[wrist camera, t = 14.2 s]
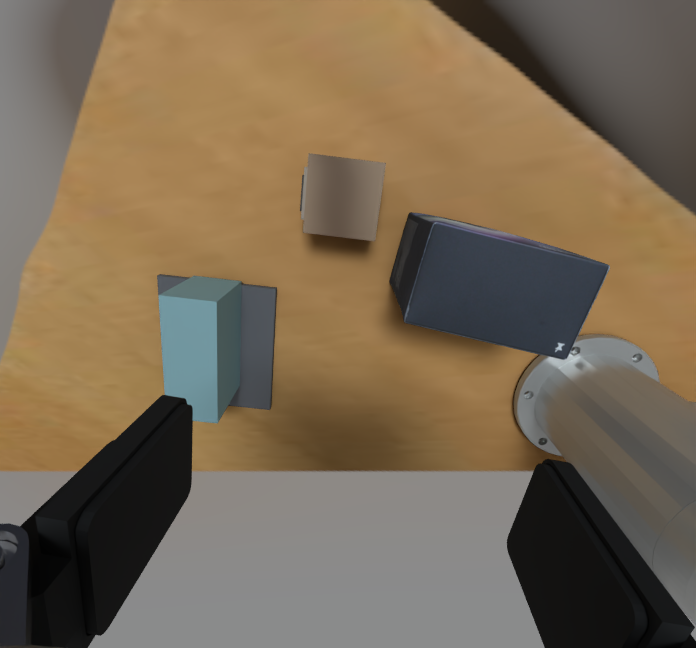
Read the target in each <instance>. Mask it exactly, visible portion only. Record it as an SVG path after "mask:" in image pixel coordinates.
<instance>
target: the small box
mask: <svg viewBox="0 0 696 648" xmlns="http://www.w3.org/2000/svg"><path fill="white" fill-rule="evenodd" d="M609 269H610V266H609V265H607V264H605V263H601V262H598V261H596V260H593V259H590V258H587V257H584V256H581V255H578V254H575V253H572V252H569V251H566V250H563V249H560V248H557V247H554V246H550V245H547V244H543V243H540V242H537V241H533V240H530V239H526V238H523V237H519V236H516V235H513V234H509V233H505V232H502V231H498V230H494V229H490V228H486V227H482V226H477V225H473V224H469V223H465V222H460V221H456V220H451V219H447V218H442V217H437V216H432V215H426V214H420V213H412V212H411V213H409V215H408V218H407V221H406V225H405V228H404V231H403V235H402V238H401V242H400V245H399V249H398V252H397V256H396V260H395V263H394V266H393V270H392V273H391V277H390V281H389V282H390V284H391V286H392V288H393V291H394V292H395V296H396V298H397V301H398V303H399V305H400V308H401V311H402V315H403V320H404V322H405V323H408V324H412V325H416V326H420V327H425V328H429V329H433V330H437V331H441V332H446V333H450V334H454V335H459V336H463V337H467V338H471V339H475V340H479V341H484V342H488V343H493V344H497V345H502V346H506V347H510V348H514V349H518V350H523V351H527V352H531V353H535V354H540V355H544V356H548V357H553V358H557V359H561V360H565V359H567V358H568V357H569V354H570V352H571V350H572V348H573V346H574V343H575V341H576V339H577V337H578V335H579V333H580V331H581V329H582V326H583V324H584V322H585V320H586V318H587V316H588V313H589V312H590V310H591V307H592V305H593V303H594V301H595V299H596V297H597V295H598V293H599V290H600V288H601V286H602V284H603V282H604V280H605V277H606V275H607V273H608V271H609Z"/></svg>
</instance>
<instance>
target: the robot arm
mask: <svg viewBox="0 0 696 648" xmlns="http://www.w3.org/2000/svg"><path fill="white" fill-rule="evenodd" d="M514 414H515V417H516V420H517V423H518V425H519V426H520V428H521V430H522V431H523V433H524V434H525V435H526V437H527V438H528V439H529V440H530V442H532V443H533V444H534V445H535V446H536V447H538V448H540V449H542V450H544V451H546V452H548V453H551V454H554V455H558V456H563V457H564V459H565V460H566V461H567V462H562V461H556V460H550V459H546V460H545V461H543V463H542V464H538V465H537V466H536V468H535V470H534V473H533V475H532V478H531V480H530V483H529V485H528V488H527V490H526V493H525V495H524V498H523V500H522V503H521V505H520V508H519V510H518V513H517V515H516V518H515V521H514V523H513V526H512V528H511V530H510V533H509V536H508V539H507V549H508V553H509V556H510V558H511V561H512V563H513V566H514V569H515V571H516V574H517V577H518V579H519V582H520V584H521V586H522V589H523V592H524V595H525V597H526V600H527V603H528V605H529V607H530V610H531V613H532V616H533V618H534V621H535V623H536V626H537V628H538V631H539V634H540V636H541V639H542V641H543V644H544V647H545V648H696V641H695V640H694V638H693V637H692V636H691V632H692V631H693V629H694V628H695V627H694V626H693V624H692V623H691V622H690V620H689V619H688V618H687V616H688V617H689V618H690V619H691V620H692V621H693V622H694V623H695V624H696V402H691V401H687V400H686V399H684V398H682V397H681V396H679V395H678V394H676V393H675V392H673V391H672V390H670V389H668V388H667V387H665V386H664V385H662V384H661V383H660V381H659V375H658V371H657V369H656V366H655V364H654V362H653V361H652V359H651V358H650V357H649V356H648V354H647V353H646V352H644V351H643V350H642V349H640V348H639V347H638V346H636V345H634V344H633V343H631V342H629V341H627V340H625V339H622V338H619V337H616V336H613V335H605V334H589V335H582V336H578V337H577V339H576V341H575V343H574V346H573V348H572V350H571V352H570V354H569V357H568V358H567V359H565V360H561V359H557V358H553V357H548V356H544V355H540V356H538V357H537V358H536V359H535V360H534V361H533V362H532V363H531V364H530V366H529V367H528V368H527V369H526V370H525V372H524V374H523V375H522V377H521V379H520V380H519V383H518V386H517V388H516V391H515V396H514ZM192 424H193V408H192V406H191V405H188V404H187V401H186V399H185V398H180V397H174V396H168V395H162V396H161V397H160V398H159V399H157V400H156V401H155V402H154V403H153V404H152V405H151V406H150V407H149V408H148V409H147V410H146V411H145V412H144V413H143V414H142V415H141V416H140V417H139V418H138V419H136V420H135V421H134V422H133V423H132V424H131V425H130V426H129V427H128V428H127V429H126V430H125V431H124V432H123V433H122V434H121V435H120V436H119V437H118V438H117V439H115V440H114V441H111V442H110V443H109V444H107V445H106V446H105V447H104V448H103V449H102V450H101V451H100V452H99V453H98V454H96V455H95V456H94V457H93V458H92V459H91V460H90V461H89V462H88V463H87V464H86V465H85V466H84V467H83V468H82V469H81V470H79V471H78V472H77V473H76V474H75V475H74V476H73V477H72V478H71V479H70V480H69V481H68V482H67V483H66V484H65V485H64V486H63V487H61V488H60V489H59V490H58V491H57V492H56V493H55V494H54V495H53V496H52V497H51V498H50V499H49V500H48V501H47V502H46V503H44V504H43V505H42V506H41V507H40V508H39V509H38V510H37V511H36V512H35V513H34V514H33V515H32V516H31V517H30V518H29V519H27V521H25V522H24V523H23V524H22V525H21V526H17V525H13V524H0V648H88V646H89V645H90V643H91V641H92V640H93V638H94V637H95V635H102V634H104V632H105V631H106V630H107V629H108V627H109V626H110V624H111V623H112V621H113V619H114V618H115V616H116V614H117V612H118V611H119V609H120V608H121V606H122V604H123V603H124V601H125V599H126V598H127V596H128V595H129V593H130V591H131V589H132V588H133V586H134V585H135V583H136V581H137V580H138V578H139V577H140V575H141V573H142V572H143V570H144V568H145V566H146V565H147V563H148V562H149V560H150V558H151V557H152V555H153V553H154V552H155V550H156V549H157V547H158V545H159V543H160V542H161V540H162V539H163V537H164V535H165V534H166V532H167V530H168V529H169V527H170V525H171V524H172V522H173V521H174V519H175V517H176V515H177V514H178V512H179V511H180V509H181V507H182V506H183V504H184V502H185V501H186V499H187V497H188V495H189V492H190V488H191V479H192V477H191V476H192ZM684 613H685V614H686V615H687V616H686V615H685V614H684Z"/></svg>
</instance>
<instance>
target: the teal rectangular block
mask: <svg viewBox="0 0 696 648" xmlns="http://www.w3.org/2000/svg"><path fill="white" fill-rule="evenodd" d="M241 283H242V281H235V280H226V279H217V278H209V277H200V276H193V277H191V278H189V279H187V280H185V281H184V282H182V283H180V284H178V285H176V286H174V287H173V288H171V289H169V290H167V291H165V292H163V293H162V294H160V295H159V310H160V326H161V342H162V357H163V373H164V388H165V395H168V396H174V397H180V398H185V399H186V401H187V404H188V405H191V406H192V408H193V421H201V422H210V423H218V422H219V420H220V418H221V417H222V415H223V413H224V412H225V410H226V408H227V406H228V405H229V403H230V401H231V400H232V398H233V396H234V394H235V393H236V391H237V389H238V388H239V386H240V347H241Z"/></svg>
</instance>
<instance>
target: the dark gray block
mask: <svg viewBox="0 0 696 648" xmlns="http://www.w3.org/2000/svg"><path fill="white" fill-rule="evenodd" d="M157 279H158V295H160V294H162V293H163V292H165V291H167V290H169V289H171V288H173V287H174V286H176V285H178V284H180V283H182V282H184V281H185V280H187V279H189V278H188V277H179V276H170V275H162V274H160V275H158V276H157ZM276 297H277V288H275V287H266V286H257V285H249V284H241V347H240V386H239V388H238V389H237V391H236V393H235V394H234V396H233V398H232V400H231V401H230V403H229V406H238V407H248V408H257V409H266V410H270V408H271V398H272V378H273V357H274V337H275V317H276Z"/></svg>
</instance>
